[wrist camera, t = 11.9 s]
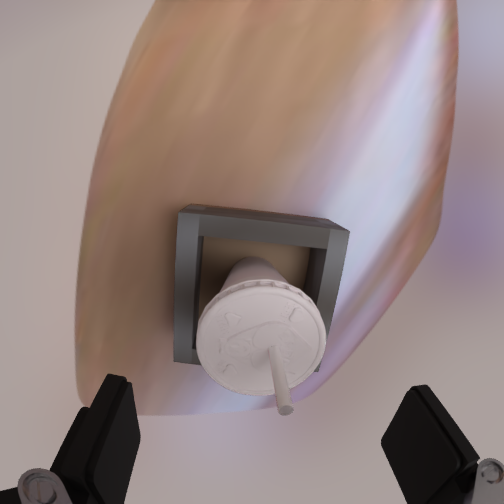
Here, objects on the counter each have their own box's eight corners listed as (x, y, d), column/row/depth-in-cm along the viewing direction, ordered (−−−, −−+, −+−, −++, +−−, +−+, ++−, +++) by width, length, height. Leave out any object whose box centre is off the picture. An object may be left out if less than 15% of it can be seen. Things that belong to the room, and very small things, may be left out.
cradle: (190, 203, 23) (178, 212, 18) (327, 219, 23) (349, 231, 19) (183, 328, 25) (173, 361, 20) (305, 338, 26) (318, 371, 21)
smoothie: (289, 318, 24) (334, 455, 11) (209, 315, 24) (185, 456, 10) (298, 241, 23) (376, 335, 9) (212, 236, 22) (175, 329, 9)
